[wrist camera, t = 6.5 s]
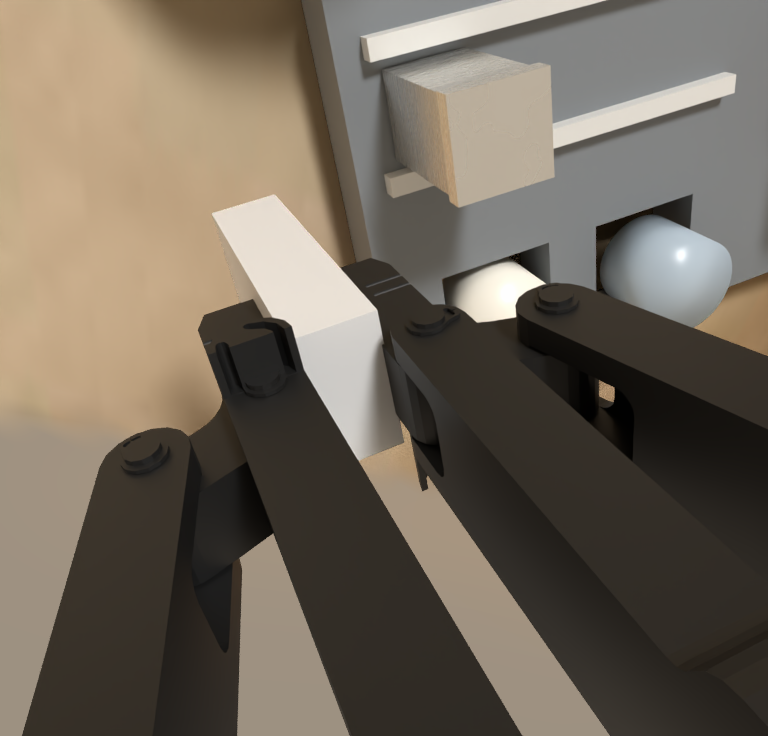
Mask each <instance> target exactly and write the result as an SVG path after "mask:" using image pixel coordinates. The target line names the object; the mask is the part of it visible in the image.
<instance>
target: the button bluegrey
mask: <svg viewBox="0 0 768 736" xmlns="http://www.w3.org/2000/svg"><path fill="white" fill-rule="evenodd" d="M731 276H732V261H731V257H730V254H729V252H728V251H727V249H726V248H725V247H724V246H723V245H721V244H720V243H718V242H716V241H713V240H711V239H709V238H707V237H705V236H703V235H701V234H698V233H696V232H694V231H692V230H690V229H688V228H686V227H683V226H681V225H679V224H677V223H675V222H673V221H671V220H668V219H666V218H664V217H662V216H659V215H644V216H641V217H638V218H636V219H634V220H632V221H630V222H629V223H627V224H626V225H624V226H623V227H622V228H621V229H620V230H619V231H618V232H617V233H616V234H615V235H614V237H613V238H612V239H611V241H610V242H609V244H608V246H607V248H606V250H605V252H604V254H603V257H602V261H601V265H600V280H601V284H602V286H603V288H604V290H605V292H606V293H607V294H608V295H609V296H611V297H613V298H615V299H618V300H621V301H623V302H626V303H629V304H631V305H634V306H637V307H639V308H642V309H644V310H647V311H650V312H652V313H655V314H658V315H660V316H663V317H666V318H668V319H671V320H673V321H676V322H679V323H681V324H684V325H687V326H689V327H692V328H693V327H695V326H697V325H699V324H700V323H701V322H703V321H704V320H705V319H706V318H708V317H709V316H710V315H711V314H712V313H713V312H714V310H715V309H716V308H717V307H718V305H719V304H720V302H721V301H722V299H723V298H724V296H725V294H726V292H727V289H728V287H729V284H730V280H731Z"/></svg>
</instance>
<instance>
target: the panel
mask: <svg viewBox="0 0 768 736" xmlns="http://www.w3.org/2000/svg"><path fill="white" fill-rule="evenodd" d="M301 2H302V7H303V11H304V16H305V21H306V26H307V30H308V35H309V40H310V45H311V49H312V54H313V59H314V64H315V68H316V73H317V78H318V83H319V87H320V92H321V97H322V102H323V106H324V111H325V116H326V121H327V126H328V130H329V135H330V140H331V145H332V149H333V154H334V159H335V164H336V168H337V173H338V178H339V183H340V187H341V192H342V197H343V202H344V206H345V211H346V216H347V221H348V225H349V230H350V235H351V240H352V244H353V249H354V254H355V259H356V263H357V262H360V261H363V260H366V259H369V258H373V259H376V260H379V261H382V262H385V263H389V264H390V265H391V266H392V267H393V268H394V269H395V270H396V271H398V272H399V273H400V276H403V277H404V278H405V279H406V280H407V281H408V282H409V284H411V285H412V286H413V287H414V288H415V289H417V290H418V291H419V292H420V293H421V294H422V295H423V296H424V297H425V298H426V299H427V300H428V301H429V302H430V303H431V304H432V305H435V304H444V305H445V299H444V291H443V284H442V279H443V278H446V277H449V276H452V275H455V274H458V273H461V272H464V271H467V270H470V269H473V268H475V267H478V266H481V265H484V264H487V263H490V262H493V261H496V260H499V259H502V258H505V257H508V256H511V255H514V254H517V253H520V261H521V266H522V267H523V268H525V269H526V270H527V271H529V272H530V273H532V274H533V275H534V276H536V277H537V278H539V279H540V280H541V281H543V282H544V283H546V284H549V283H570V284H575V285H579V286H583V287H586V288H589V289H592V290H594V291H596V226H599V225H602V224H605V223H608V222H611V221H614V220H617V219H620V218H623V217H626V216H629V215H632V214H635V213H638V212H641V211H643V210H646V209H649V208H652V207H653V215H659V216H662V217H664V218H666V219H668V220H671V221H673V222H675V223H677V224H679V225H681V226H683V227H686V228H688V229H690V230H692V231H694V232H696V233H698V234H701V235H703V236H705V237H707V238H709V239H711V240H713V241H716V242H718V243H720V244H721V245H723V246H724V247H725V248H726V249H727V251H728V252H729V254H730V257H731V261H732V276H731V280H730V284H729V287H730V286H733V285H735V284H738V283H740V282H743V281H746V280H748V279H751V278H754V277H756V276H759V275H762V274H764V273H767V272H768V0H301ZM461 48H469V49H473V50H476V51H480V52H483V53H487V54H491V55H494V56H498V57H502V58H505V59H509V60H513V61H516V62H520V63H524V64H527V65H531V64H535V63H538V62H540V63H543V64H547V65H550V67H551V94H552V122H553V149H554V176H555V177H554V178H550V179H547V180H544V181H541V182H538V183H535V184H531V185H528V186H525V187H522V188H519V189H516V190H513V191H509V192H506V193H503V194H500V195H497V196H494V197H491V198H488V199H484V200H481V201H478V202H475V203H472V204H469V205H465V206H462V207H459V208H458V207H457V206H455V205H454V204H452V203H451V202H450V200H449V195H448V194H446V193H445V192H443V191H442V190H440V189H439V188H437V187H436V186H434V185H433V184H431V183H430V182H428V181H427V180H426V179H424V178H423V177H421V176H420V175H418V174H417V173H415V172H414V171H412V170H411V169H409V168H408V167H406V166H405V165H403V164H402V163H400V162H399V161H397V160H396V155H395V149H394V142H393V136H392V130H391V124H390V118H389V111H388V105H387V99H386V93H385V87H384V80H383V74H382V69H386V68H390V67H393V66H397V65H401V64H405V63H408V62H412V61H416V60H420V59H423V58H427V57H431V56H435V55H438V54H442V53H446V52H450V51H453V50H457V49H461ZM597 292H600V293H602V294H605V295H608V294H607V293H606V292H605V290H604V289H602V290H599V291H597ZM608 296H609V295H608ZM610 297H611V296H610Z"/></svg>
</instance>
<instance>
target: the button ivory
mask: <svg viewBox="0 0 768 736" xmlns="http://www.w3.org/2000/svg"><path fill="white" fill-rule="evenodd" d="M442 284H443V291H444V299H445V305H450V306H455V307H457V308H459V309H461V310H463V311H465V312H466V313H467V314H468V315H469V316H470V317H471V318H473V319H474V320H475V321H476V322H478V323H479V322H489V321H496V320H502V319H508V318H514V317H516V308H515V305H516V302H517V300H518V298H519V297H520V296H521V295H522V294H524V293H525V292H526V291H528V290H530V289H533V288H535V287H538V286H540V285H544V284H546V283H544V282H543V281H541V280H540V279H539V278H537V277H536V276H534V275H533V274H532V273H530V272H529V271H527V270H526V269H525V268H523V267H522V266H520V265H519V264H518V263H516V262H515V261H514V260H512V259H511V258H509V257H505V258H502V259H499V260H496V261H493V262H490V263H487V264H484V265H481V266H478V267H475V268H473V269H470V270H467V271H464V272H461V273H458V274H455V275H452V276H449V277H446V278H444V279H443V282H442Z"/></svg>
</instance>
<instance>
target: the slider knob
mask: <svg viewBox="0 0 768 736" xmlns="http://www.w3.org/2000/svg"><path fill="white" fill-rule="evenodd" d="M382 74H383V80H384V87H385V93H386V99H387V105H388V111H389V118H390V124H391V130H392V136H393V142H394V149H395V155H396V160H397V161H399V162H400V163H402V164H403V165H405V166H406V167H408V168H409V169H411V170H412V171H414V172H415V173H417V174H418V175H420V176H421V177H423V178H424V179H426V180H427V181H428V182H430V183H431V184H433V185H434V186H436V187H437V188H439V189H440V190H442V191H443V192H445V193H446V194H448V195H449V200H450V202H451V203H452V204H454V205H455V206H457V207H458V208H459V207H462V206H465V205H469V204H472V203H475V202H478V201H481V200H484V199H488V198H491V197H494V196H497V195H500V194H503V193H506V192H509V191H513V190H516V189H519V188H522V187H525V186H528V185H531V184H535V183H538V182H541V181H544V180H547V179H550V178H554V177H555V176H554V149H553V122H552V94H551V67H550V65H547V64H543V63H540V62H538V63H535V64H531V65H527V64H524V63H520V62H516V61H513V60H509V59H505V58H502V57H498V56H494V55H491V54H487V53H483V52H480V51H476V50H473V49H469V48H461V49H457V50H453V51H450V52H446V53H442V54H438V55H435V56H431V57H427V58H423V59H420V60H416V61H412V62H408V63H405V64H401V65H397V66H393V67H390V68H386V69H382Z"/></svg>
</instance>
